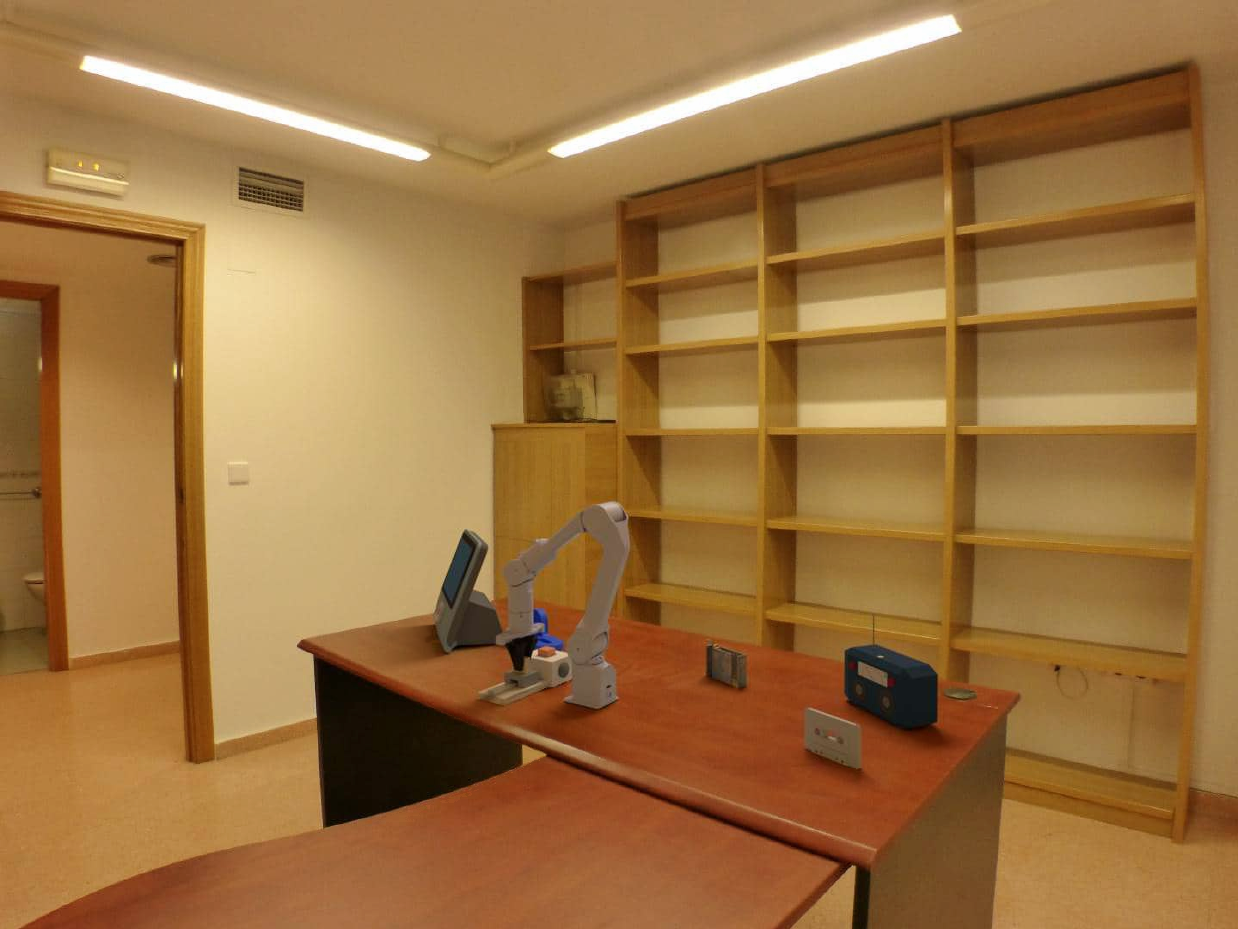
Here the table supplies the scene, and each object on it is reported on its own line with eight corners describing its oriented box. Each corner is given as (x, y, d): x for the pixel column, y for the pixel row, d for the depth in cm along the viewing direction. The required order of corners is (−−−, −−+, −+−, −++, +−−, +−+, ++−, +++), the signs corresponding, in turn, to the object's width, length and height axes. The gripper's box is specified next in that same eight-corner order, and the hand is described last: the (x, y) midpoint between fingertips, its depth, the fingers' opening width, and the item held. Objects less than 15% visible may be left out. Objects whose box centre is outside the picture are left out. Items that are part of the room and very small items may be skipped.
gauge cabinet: (575, 679, 187) (574, 654, 186) (553, 688, 180) (553, 662, 180) (541, 671, 193) (541, 647, 192) (520, 680, 186) (519, 655, 186)
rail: (538, 678, 183) (538, 674, 183) (493, 696, 170) (493, 691, 170) (533, 677, 184) (533, 673, 184) (488, 695, 171) (488, 690, 171)
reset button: (555, 656, 187) (555, 648, 187) (547, 659, 184) (547, 651, 184) (545, 654, 188) (545, 646, 188) (537, 657, 186) (537, 649, 186)
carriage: (538, 682, 179) (538, 656, 179) (524, 687, 175) (523, 661, 175) (519, 677, 183) (518, 652, 183) (504, 683, 179) (504, 657, 178)
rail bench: (549, 687, 181) (549, 680, 181) (504, 705, 169) (504, 699, 169) (523, 681, 186) (523, 674, 185) (478, 699, 173) (477, 692, 173)
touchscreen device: (428, 624, 241) (430, 528, 240) (491, 622, 247) (493, 527, 246) (437, 655, 208) (439, 543, 207) (510, 651, 214) (512, 542, 213)
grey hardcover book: (704, 677, 189) (704, 637, 188) (713, 675, 190) (713, 635, 190) (736, 690, 179) (736, 648, 179) (746, 687, 181) (746, 646, 181)
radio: (839, 700, 171) (839, 610, 170) (871, 695, 174) (872, 606, 173) (905, 734, 151) (906, 632, 150) (941, 728, 154) (941, 628, 153)
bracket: (510, 641, 222) (510, 610, 221) (535, 637, 227) (535, 606, 226) (543, 656, 207) (542, 622, 207) (569, 650, 212) (569, 617, 212)
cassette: (802, 749, 145) (802, 708, 144) (808, 746, 146) (808, 706, 146) (856, 771, 135) (856, 727, 135) (863, 768, 136) (863, 725, 136)
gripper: (528, 602, 187) (529, 658, 187) (485, 614, 175) (486, 674, 175) (551, 606, 183) (551, 663, 183) (508, 618, 171) (509, 679, 171)
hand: (521, 669), depth 179 cm, fingers closed on carriage
